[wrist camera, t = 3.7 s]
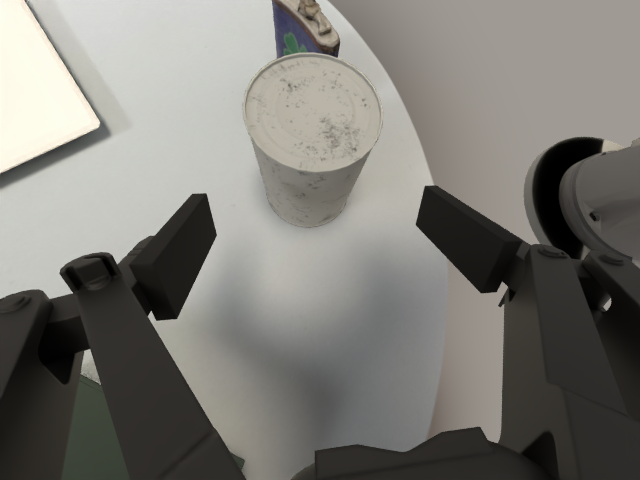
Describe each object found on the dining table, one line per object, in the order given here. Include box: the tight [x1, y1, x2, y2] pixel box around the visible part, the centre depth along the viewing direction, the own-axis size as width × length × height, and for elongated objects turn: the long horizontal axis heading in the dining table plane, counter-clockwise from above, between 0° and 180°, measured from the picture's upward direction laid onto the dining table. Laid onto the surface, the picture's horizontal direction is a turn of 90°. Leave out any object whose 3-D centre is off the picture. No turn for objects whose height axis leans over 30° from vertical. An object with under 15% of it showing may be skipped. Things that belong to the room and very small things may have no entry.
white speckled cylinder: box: [243, 52, 383, 227], centre depth 23 cm, size 10×10×12 cm
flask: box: [272, 0, 340, 59], centre depth 26 cm, size 9×3×11 cm, turn 40°
